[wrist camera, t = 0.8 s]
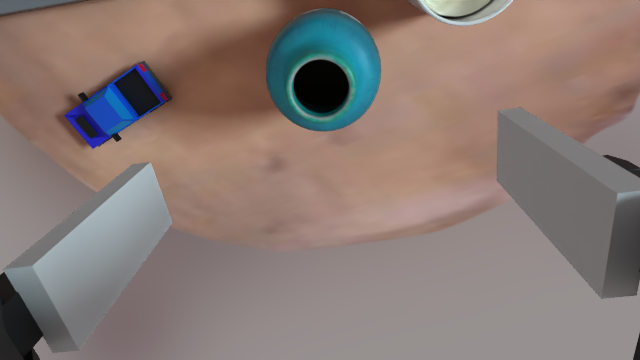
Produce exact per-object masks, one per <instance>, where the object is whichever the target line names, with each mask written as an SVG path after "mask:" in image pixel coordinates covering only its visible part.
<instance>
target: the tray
mask: <svg viewBox="0 0 640 360" xmlns="http://www.w3.org/2000/svg"><path fill="white" fill-rule="evenodd" d="M82 1H87V0H0V16H4V15H9V14H15V13H21V12H26V11H32V10H37V9H43V8H48V7H54V6H60V5H65V4H71V3H76V2H82Z"/></svg>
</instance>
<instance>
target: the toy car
mask: <svg viewBox="0 0 640 360" xmlns="http://www.w3.org/2000/svg"><path fill="white" fill-rule="evenodd" d="M78 96H79V97H80V98H81V100H82V101H83V103H81V104H80V105H78V106H77V107H76V108H74V109H73V110H71V111H70V112H68V113H67V114H66V115H64V116H65V117H66V118H67V119H68V121H69V122H70V123H71V124H72V125H73V126H74V128H75V129H76V130H77V131H78V132H79V133H80V135H81V136H82V137H83V138H84V139H85V140H86V142H87V143H88V144H89V145H90V146H91V147H92V148H95V147H97V146H100V145H102V144H104V142H106V141H108V140H109V139H111V138H112V137H113V138H114V139H115V141H116V142H117V141H119V140H121V137H120V136H119V135H118V132H120V131H121V130H123V129H124V128H126V127H128V126H129V125H131V124H132V123H134V122H135V121H137V120H138V119H140V118H141V117H143V116H144V115H146V114H147V113H149V112H152V111H153V110H155V109H157V108H158V107H159V106H161V105H163V104H164V103H165V102H168V101H169V100H171V99H172V98H171V96H170V95H169V94H168V92H167V91H166V90H165V88H164V87H163V86H162V84H161V83H160V82H159V80H158V79H157V77H156V76H155V75H154V73H153V72H152V71H151V69H150V68H149V67H148V65H147V64H146V63H145V61H143V62H141V63H140V64H138V65H136V66H134V67H133V68H131V69H130V70H129V71H127V72H126V73H124V74H123V75H121V76H120V77H119V78H117V79H116V80H114V81H113V82H111V83H110V84H109V85H107V86H106V87H104V88H103V89H101V90H100V91H99V92H97V93H96V94H94V95H93V96H91V97H90V98H88V97H87V96H86V95H85V94H84V92H83V93H80V94H79V95H78Z"/></svg>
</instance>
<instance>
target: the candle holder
mask: <svg viewBox="0 0 640 360" xmlns="http://www.w3.org/2000/svg"><path fill="white" fill-rule="evenodd" d="M408 1H409V2H410V3H411V4H412V5H413V6H414V7H416V8H417V9H419V10H421V11H423V12H425V13H427V14H429V15H430V16H432V17H433V18H435V19H436V20H438V21H440V22H443V23H446V24H449V25H455V26H469V25H474V24H478V23H481V22H484V21H486V20H489V19H491V18H492V17H494V16H496V15H497V14H499V13H500V12H502V11H503V10H504V9H505V8H506V7H507V6H508V5H509V4H510V3H511V2H512V1H513V0H408Z"/></svg>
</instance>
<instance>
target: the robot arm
mask: <svg viewBox="0 0 640 360" xmlns="http://www.w3.org/2000/svg"><path fill="white" fill-rule="evenodd" d="M497 181H498V182H499V183H500V185H501V186H502V187H503V188H504V189H505V190H506V191H507V192H508V194H509V195H510V196H511V197H512V198H513V199H514V200H515V202H516V203H517V204H518V205H519V206H520V207H521V208H522V209H523V210H524V212H525V213H526V214H527V215H528V216H529V217H530V218H531V219H532V221H533V222H534V223H535V224H536V225H537V226H538V228H539V229H540V230H541V231H542V232H543V233H544V234H545V235H546V237H547V238H548V239H549V240H550V241H551V242H552V243H553V245H554V246H555V247H556V248H557V249H558V250H559V251H560V252H561V254H562V255H563V256H564V257H565V258H566V259H567V260H568V261H569V263H570V264H571V265H572V266H573V267H574V268H575V269H576V270H577V271H578V273H579V274H580V275H581V276H582V277H583V278H584V280H585V281H586V282H587V283H588V284H589V285H590V286H591V287H592V288H593V290H594V291H595V292H596V293H597V294H598V295H599V297H600V298H601V299H604V298H614V297H623V296H634V295H637V290H638V285H639V280H640V168H639V167H637V166H636V165H634V164H632V163H630V162H629V161H626V160H623V159H620V158H616V157H613V156H609V155H603V156H602V155H600V154H598V153H596V152H595V151H593V150H592V149H590V148H588V147H586V146H585V145H583V144H581V143H580V142H578V141H576V140H575V139H573V138H571V137H570V136H568V135H566V134H564V133H563V132H561V131H559V130H558V129H556V128H554V127H553V126H551V125H549V124H548V123H546V122H544V121H542V120H541V119H539V118H537V117H536V116H534V115H532V114H531V113H529V112H527V111H525V110H524V109H522V108H520V107H519V108H512V109H506V110H499V111H498V132H497ZM172 223H173V222H172V220H171V217H170V214H169V211H168V209H167V206H166V203H165V200H164V198H163V195H162V192H161V189H160V187H159V184H158V181H157V179H156V176H155V173H154V170H153V168H152V165H151V162H147V163H140V164H133V165H131V166H130V167H129V168H127V169H126V170H125V171H124V172H122V173H121V174H120V175H119V176H118V177H116V178H115V179H114V180H113V181H111V182H110V183H109V184H108V185H106V186H105V187H104V188H103V189H102V190H100V191H99V192H98V193H97V194H95V195H94V196H93V197H92V198H90V199H89V200H88V201H87V202H86V203H84V204H83V205H82V206H81V207H79V208H78V209H77V210H76V211H75V212H73V213H72V214H71V215H70V216H68V217H67V218H66V219H65V220H63V221H62V222H61V223H60V224H58V225H57V226H56V227H55V228H54V229H52V230H51V231H50V232H49V233H47V234H46V235H45V236H44V237H43V238H41V239H40V240H39V241H38V242H36V243H35V244H34V245H33V246H31V247H30V248H29V249H28V250H26V251H25V252H24V253H23V254H21V255H20V256H19V257H18V258H17V259H16V260H14V261H13V262H12V263H10V264H9V265H8V266H7V267H6V268H4V269H3V270H4V272H3V273H2V274H1V275H0V360H40V358H39V356H38V355H37V353H36V352H35V350H34V349H33V347H34V346H35V344H36V343H37V342H38V341H39V340H40V338H41V337H42V336H43V337H44V339H45V340H46V342H47V344H48V345H49V347H50V349H51V350H52V352H53V353H57V352H67V351H77V350H80V349H81V347H82V346H83V345H84V343H85V342H86V341H87V339H88V338H89V336H90V335H91V334H92V332H93V331H94V330H95V328H96V327H97V325H98V324H99V323H100V321H101V320H102V319H103V317H104V316H105V315H106V313H107V312H108V310H109V309H110V308H111V306H112V305H113V303H114V302H115V301H116V299H117V298H118V297H119V295H120V294H121V293H122V291H123V290H124V289H125V287H126V286H127V284H128V283H129V282H130V280H131V279H132V278H133V276H134V275H135V273H136V272H137V271H138V269H139V268H140V266H141V265H142V264H143V263H144V261H145V260H146V258H147V257H148V256H149V254H150V253H151V252H152V250H153V249H154V247H155V246H156V245H157V243H158V242H159V241H160V239H161V238H162V237H163V235H164V234H165V232H166V231H167V229H168V228H169V227H170V226H171V224H172ZM633 360H640V334H639V338H638V342H637V346H636V350H635V354H634V358H633Z"/></svg>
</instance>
